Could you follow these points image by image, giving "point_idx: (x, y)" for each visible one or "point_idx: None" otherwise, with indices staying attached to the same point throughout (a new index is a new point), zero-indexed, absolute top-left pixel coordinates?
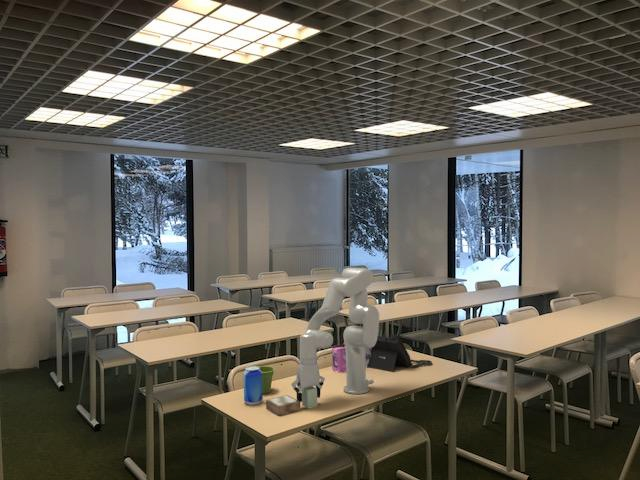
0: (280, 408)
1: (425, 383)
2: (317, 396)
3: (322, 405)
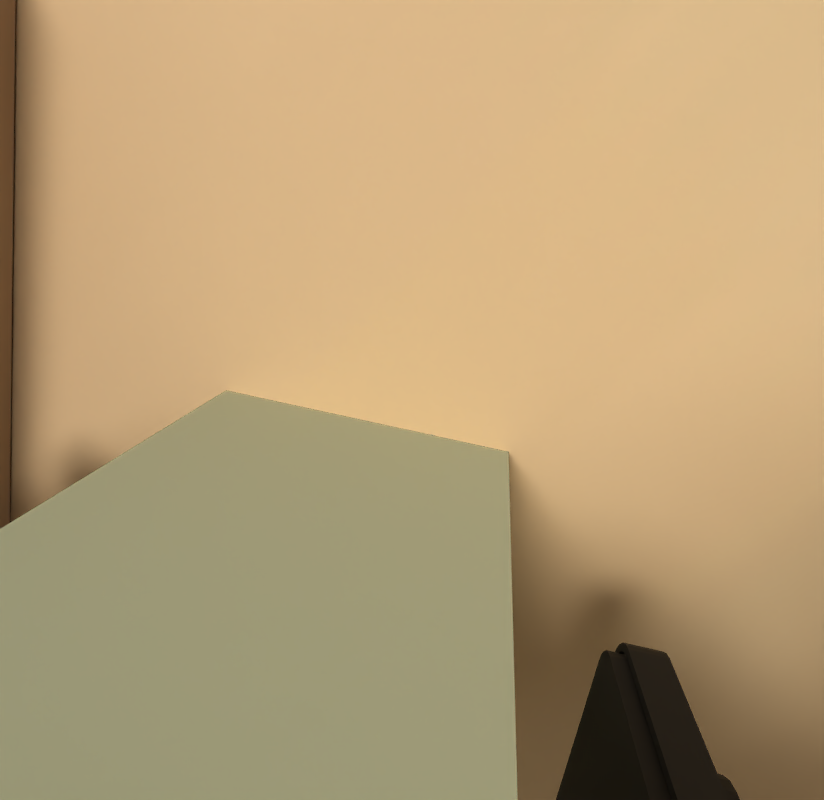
0: None
1: None
2: (572, 784)
3: (557, 755)
